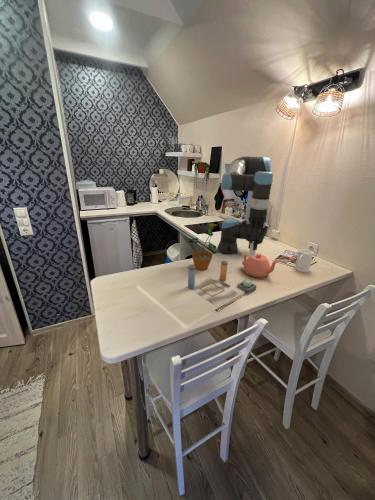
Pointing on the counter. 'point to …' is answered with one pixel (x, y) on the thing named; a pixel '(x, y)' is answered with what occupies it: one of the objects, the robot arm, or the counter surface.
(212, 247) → the potted plant
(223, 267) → the orange marker
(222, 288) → the clipboard
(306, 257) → the mug
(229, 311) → the counter surface
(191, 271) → the blue marker
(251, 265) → the teapot
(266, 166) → the robot arm
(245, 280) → the button
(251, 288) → the button base
